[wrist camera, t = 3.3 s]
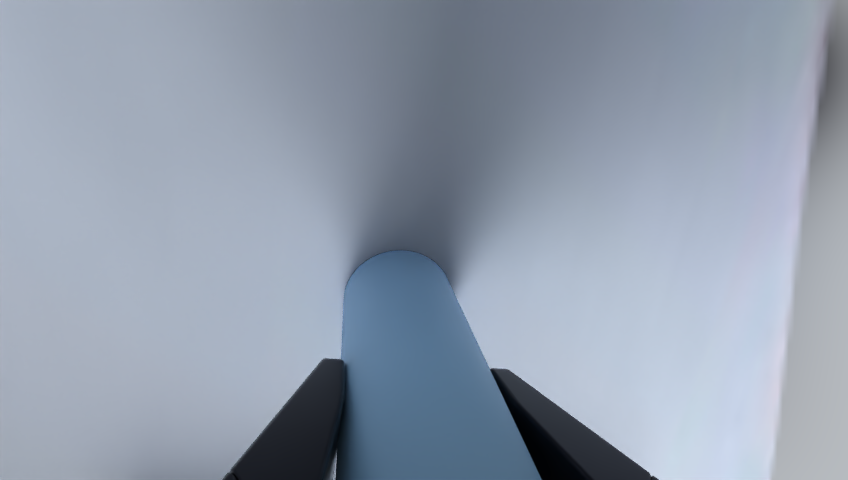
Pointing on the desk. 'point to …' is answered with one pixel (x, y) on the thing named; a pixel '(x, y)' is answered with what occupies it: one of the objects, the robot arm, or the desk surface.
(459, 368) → the peg
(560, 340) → the desk surface
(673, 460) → the desk surface
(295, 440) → the robot arm
